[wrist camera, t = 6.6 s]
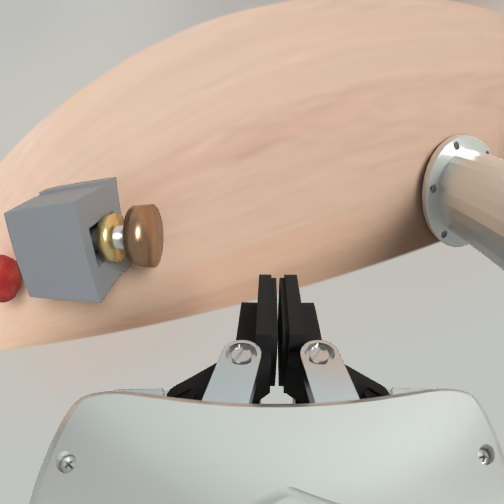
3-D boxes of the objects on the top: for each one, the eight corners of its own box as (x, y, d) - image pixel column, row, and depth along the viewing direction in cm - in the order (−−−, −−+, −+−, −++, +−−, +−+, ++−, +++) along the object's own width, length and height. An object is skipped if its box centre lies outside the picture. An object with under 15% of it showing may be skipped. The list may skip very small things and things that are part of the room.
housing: (115, 177, 23) (73, 197, 16) (130, 264, 26) (101, 305, 20) (47, 188, 23) (3, 210, 16) (65, 265, 26) (31, 299, 20)
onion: (30, 291, 28) (-2, 325, 21) (3, 269, 27) (-30, 298, 19) (34, 260, 26) (-4, 293, 19) (6, 236, 25) (-33, 264, 17)
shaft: (158, 197, 22) (137, 215, 18) (166, 251, 24) (149, 279, 20) (50, 209, 22) (20, 227, 18) (60, 253, 24) (35, 277, 20)
